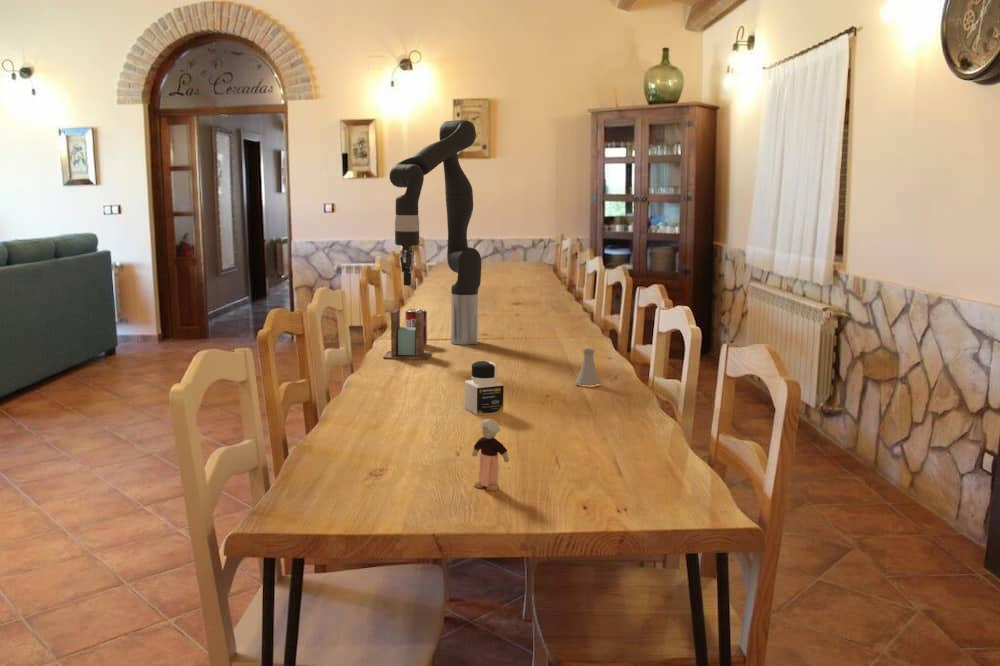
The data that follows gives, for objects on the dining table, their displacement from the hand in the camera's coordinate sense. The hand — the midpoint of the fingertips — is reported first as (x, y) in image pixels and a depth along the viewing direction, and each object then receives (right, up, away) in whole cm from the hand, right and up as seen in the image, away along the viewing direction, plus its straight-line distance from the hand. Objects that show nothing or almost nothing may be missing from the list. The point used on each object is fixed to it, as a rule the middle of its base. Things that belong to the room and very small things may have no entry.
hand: (407, 285), depth 265 cm
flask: (+53, -30, -33) cm, 69 cm away
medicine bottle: (+25, -34, -61) cm, 74 cm away
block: (0, -22, +4) cm, 22 cm away
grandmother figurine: (+27, -43, -114) cm, 124 cm away
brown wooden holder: (0, -22, +4) cm, 23 cm away
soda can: (0, -19, +24) cm, 30 cm away
